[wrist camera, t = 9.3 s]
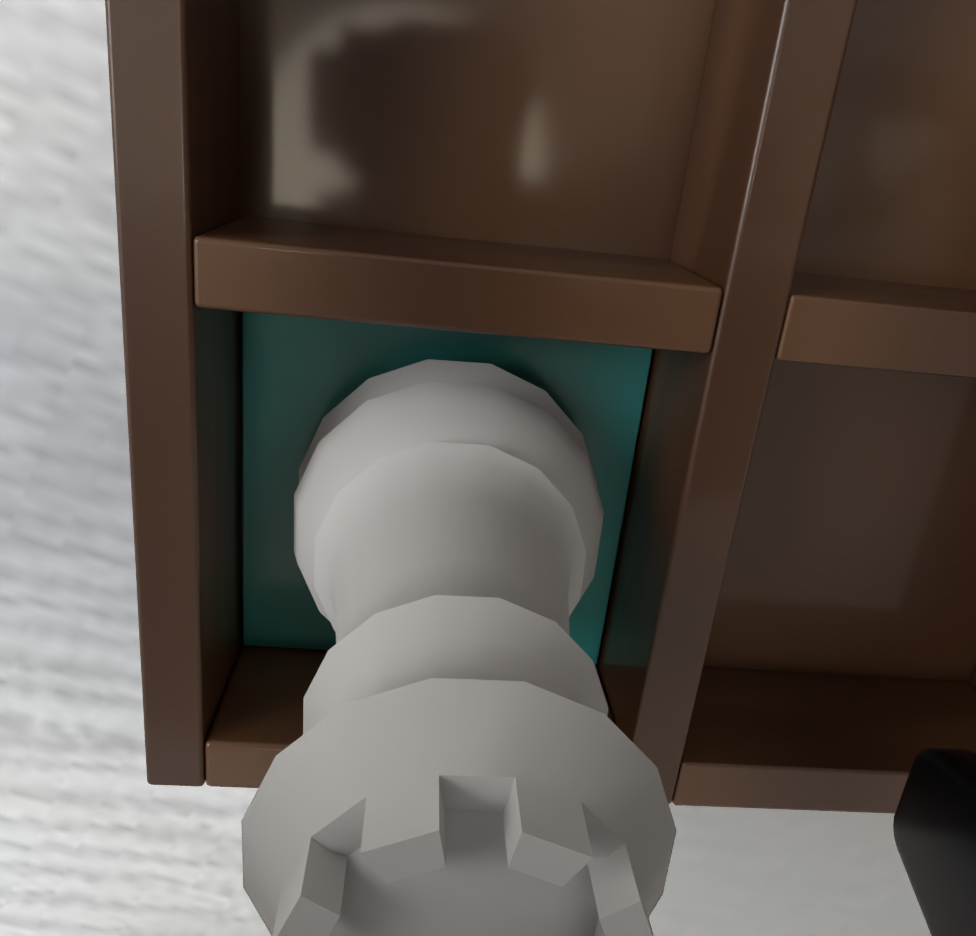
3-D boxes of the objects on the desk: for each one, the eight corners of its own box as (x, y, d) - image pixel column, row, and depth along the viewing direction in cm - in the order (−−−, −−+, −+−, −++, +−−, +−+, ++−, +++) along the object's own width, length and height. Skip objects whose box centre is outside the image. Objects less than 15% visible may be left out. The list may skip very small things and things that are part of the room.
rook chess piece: (471, 664, 14) (513, 1260, 7) (242, 517, 13) (-25, 1044, 5) (651, 467, 13) (947, 913, 5) (419, 286, 12) (390, 543, 4)
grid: (1333, -230, 11) (1651, -360, 8) (979, 703, 16) (1096, 822, 13) (175, -426, 9) (65, -668, 7) (201, 662, 14) (146, 786, 12)
